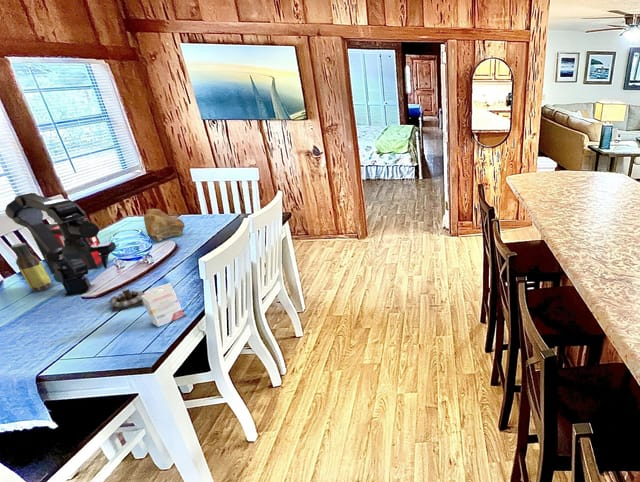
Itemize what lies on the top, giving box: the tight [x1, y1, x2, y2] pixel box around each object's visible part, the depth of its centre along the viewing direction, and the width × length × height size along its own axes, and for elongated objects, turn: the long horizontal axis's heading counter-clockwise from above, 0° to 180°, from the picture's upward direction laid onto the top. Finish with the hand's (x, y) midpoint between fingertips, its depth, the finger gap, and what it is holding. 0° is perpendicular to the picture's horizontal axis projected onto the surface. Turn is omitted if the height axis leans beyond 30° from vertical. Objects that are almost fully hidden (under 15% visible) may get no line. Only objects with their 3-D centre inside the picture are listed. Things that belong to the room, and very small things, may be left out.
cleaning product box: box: [30, 220, 103, 274], centre depth 174 cm, size 16×9×20 cm, turn 108°
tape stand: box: [111, 287, 144, 312], centre depth 151 cm, size 9×9×6 cm
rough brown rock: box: [143, 208, 186, 242], centre depth 208 cm, size 23×17×15 cm
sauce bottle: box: [10, 242, 53, 292], centre depth 156 cm, size 6×6×20 cm
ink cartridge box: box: [141, 282, 185, 328], centre depth 140 cm, size 9×5×15 cm, turn 148°
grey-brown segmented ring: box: [108, 290, 145, 308], centre depth 151 cm, size 10×10×2 cm
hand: (90, 270), depth 151 cm, fingers open, 9 cm apart
